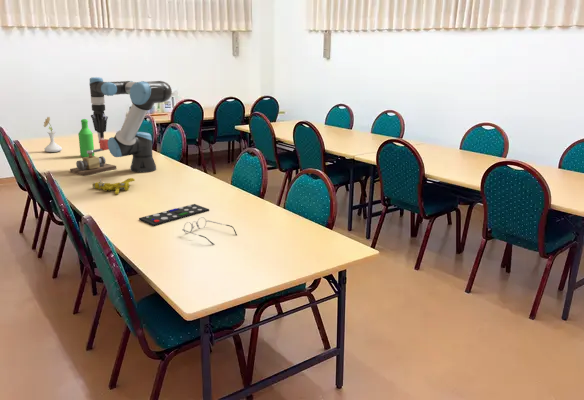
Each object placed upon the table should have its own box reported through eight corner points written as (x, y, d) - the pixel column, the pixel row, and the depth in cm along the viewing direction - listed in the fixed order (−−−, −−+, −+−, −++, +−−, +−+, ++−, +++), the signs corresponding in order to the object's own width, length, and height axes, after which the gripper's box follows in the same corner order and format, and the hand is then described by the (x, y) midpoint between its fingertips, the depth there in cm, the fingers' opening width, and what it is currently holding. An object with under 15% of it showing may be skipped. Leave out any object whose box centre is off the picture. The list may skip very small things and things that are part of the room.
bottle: (91, 157, 336) (87, 120, 328) (78, 157, 336) (74, 120, 329) (96, 155, 344) (93, 118, 337) (84, 154, 344) (80, 118, 337)
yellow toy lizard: (84, 193, 258) (121, 194, 255) (83, 181, 256) (120, 182, 254) (105, 186, 279) (139, 187, 277) (104, 174, 278) (138, 175, 275)
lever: (90, 154, 295) (89, 143, 294) (85, 153, 297) (84, 142, 295) (109, 149, 308) (108, 139, 306) (105, 149, 310) (104, 139, 308)
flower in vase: (45, 150, 355) (41, 114, 348) (63, 149, 358) (59, 114, 351) (43, 154, 343) (38, 117, 336) (61, 153, 347) (57, 117, 339)
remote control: (139, 221, 221) (138, 216, 221) (194, 206, 243) (194, 202, 242) (153, 227, 214) (153, 223, 214) (209, 212, 236) (209, 208, 235)
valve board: (116, 169, 308) (115, 151, 305) (84, 175, 291) (83, 157, 287) (101, 165, 316) (100, 148, 312) (70, 172, 298) (68, 154, 295)
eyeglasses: (207, 225, 218) (206, 214, 216) (239, 235, 207) (239, 224, 206) (179, 236, 205) (178, 224, 204) (212, 247, 195) (211, 235, 193)
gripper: (110, 104, 300) (113, 143, 307) (96, 102, 306) (99, 140, 313) (99, 105, 294) (103, 145, 300) (85, 103, 300) (89, 142, 307)
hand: (101, 142), depth 307 cm, fingers closed
